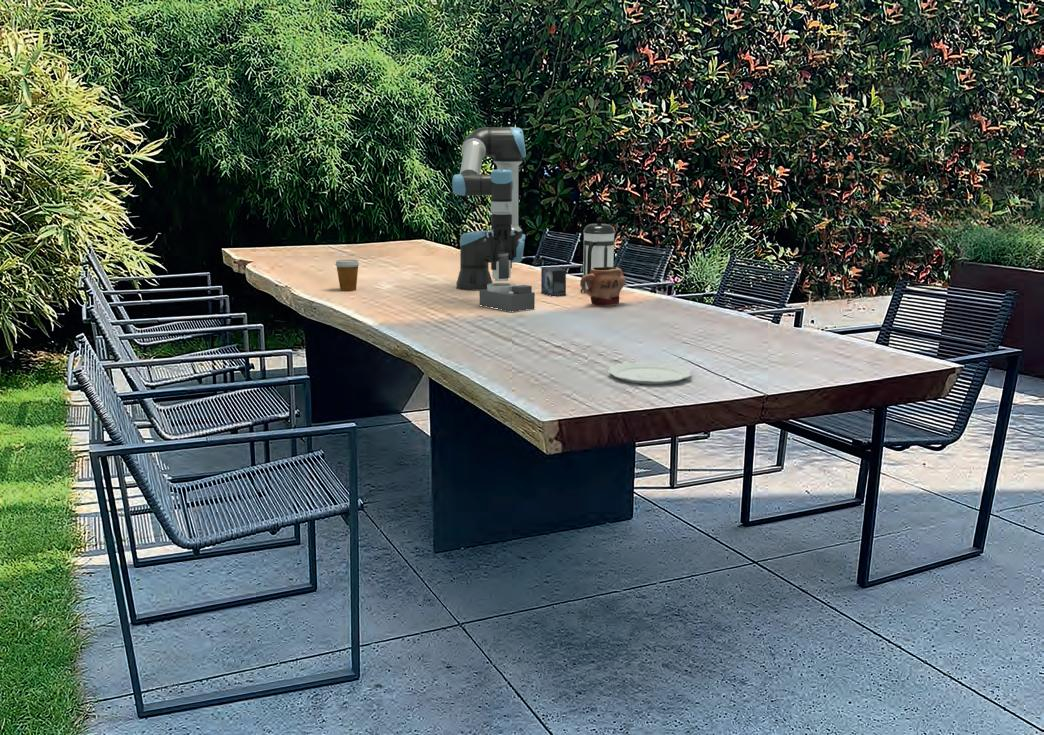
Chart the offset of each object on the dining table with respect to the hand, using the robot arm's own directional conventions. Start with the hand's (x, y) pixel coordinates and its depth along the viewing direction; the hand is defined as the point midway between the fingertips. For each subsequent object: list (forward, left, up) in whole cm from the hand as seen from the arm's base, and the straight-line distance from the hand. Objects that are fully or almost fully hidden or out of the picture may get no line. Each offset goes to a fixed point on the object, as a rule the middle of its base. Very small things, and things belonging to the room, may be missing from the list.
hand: (501, 278), depth 342 cm
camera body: (+3, 0, -10) cm, 11 cm away
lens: (0, 0, -1) cm, 1 cm away
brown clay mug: (+21, +31, -11) cm, 39 cm away
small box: (-10, +35, -11) cm, 38 cm away
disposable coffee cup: (-71, -22, -11) cm, 75 cm away
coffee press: (-2, +52, -11) cm, 53 cm away
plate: (+108, -41, -11) cm, 116 cm away
